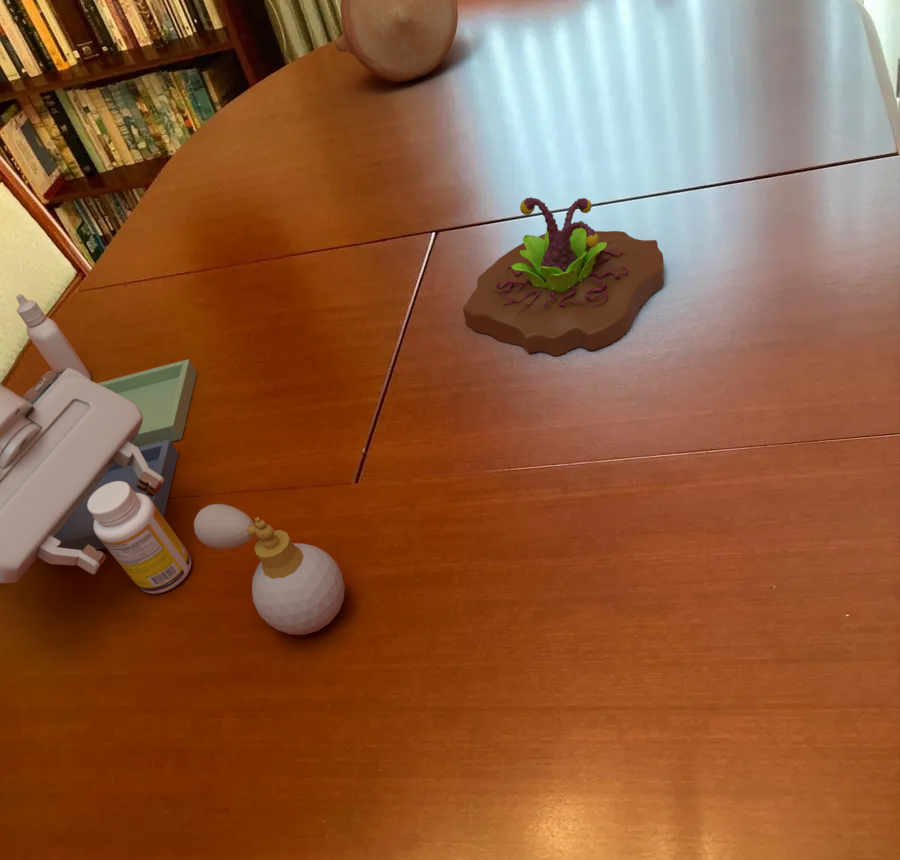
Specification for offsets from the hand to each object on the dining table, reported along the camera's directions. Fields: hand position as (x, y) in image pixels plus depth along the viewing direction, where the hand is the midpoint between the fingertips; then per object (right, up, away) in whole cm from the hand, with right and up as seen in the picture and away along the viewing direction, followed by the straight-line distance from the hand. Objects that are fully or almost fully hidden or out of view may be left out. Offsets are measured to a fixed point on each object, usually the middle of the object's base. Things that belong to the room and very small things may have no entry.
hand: (131, 525), depth 78 cm
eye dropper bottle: (-19, +21, +33) cm, 44 cm away
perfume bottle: (+16, -8, -3) cm, 18 cm away
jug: (+21, +88, +76) cm, 118 cm away
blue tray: (-7, +3, +14) cm, 16 cm away
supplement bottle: (+2, -4, +5) cm, 7 cm away
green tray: (-8, +14, +24) cm, 29 cm away
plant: (+41, +26, +18) cm, 51 cm away
